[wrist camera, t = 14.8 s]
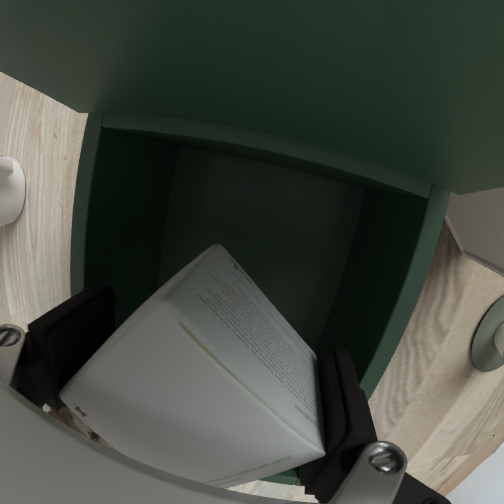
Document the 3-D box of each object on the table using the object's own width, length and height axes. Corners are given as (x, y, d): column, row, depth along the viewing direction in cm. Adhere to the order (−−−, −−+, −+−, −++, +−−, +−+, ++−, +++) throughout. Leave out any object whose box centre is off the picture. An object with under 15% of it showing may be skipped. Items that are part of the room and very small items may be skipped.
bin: (306, 391, 20) (307, 487, 12) (146, 347, 21) (87, 420, 12) (378, 180, 16) (453, 183, 7) (176, 133, 17) (90, 105, 8)
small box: (214, 414, 12) (185, 501, 7) (121, 323, 11) (49, 392, 6) (322, 354, 10) (336, 459, 6) (219, 236, 10) (156, 290, 5)
